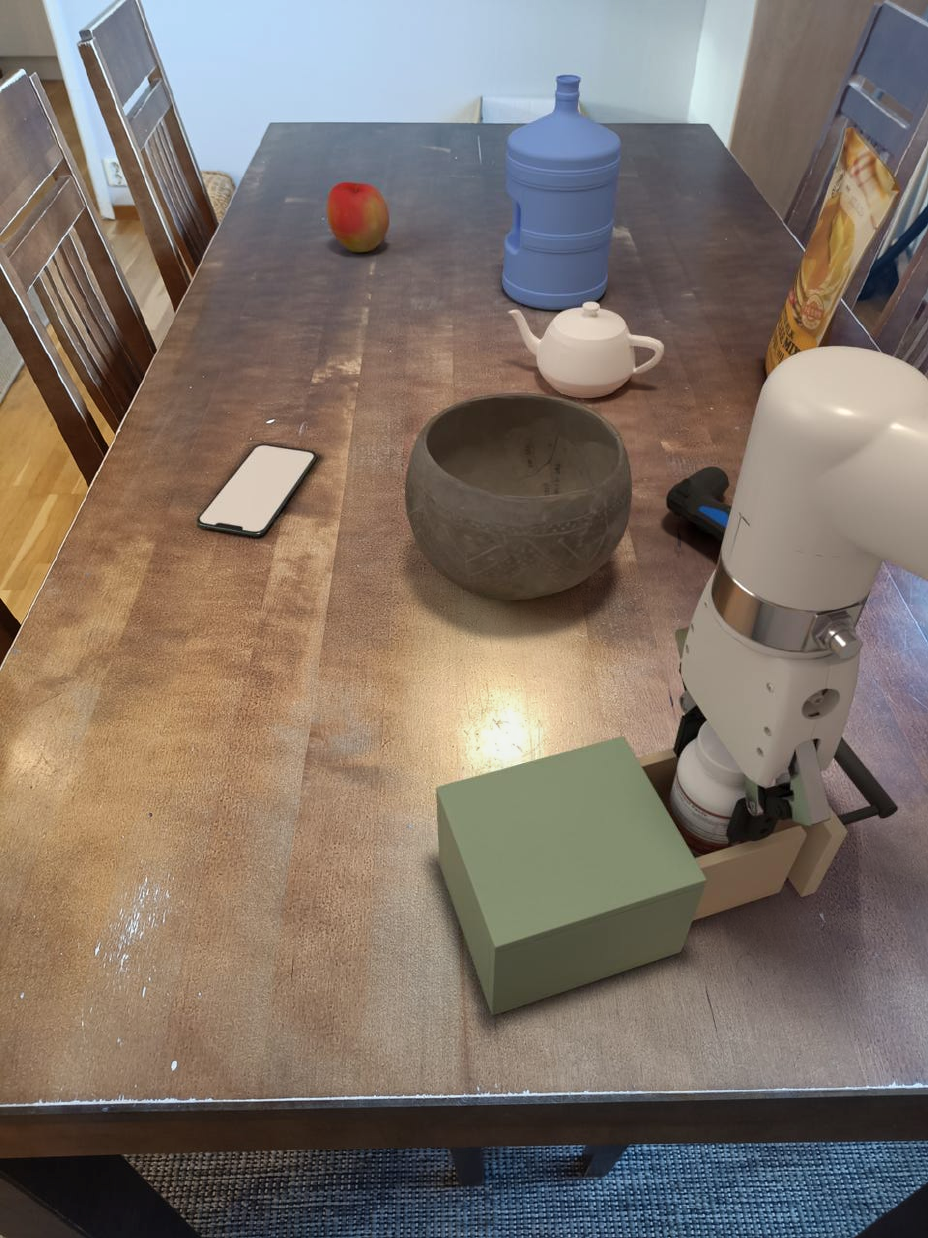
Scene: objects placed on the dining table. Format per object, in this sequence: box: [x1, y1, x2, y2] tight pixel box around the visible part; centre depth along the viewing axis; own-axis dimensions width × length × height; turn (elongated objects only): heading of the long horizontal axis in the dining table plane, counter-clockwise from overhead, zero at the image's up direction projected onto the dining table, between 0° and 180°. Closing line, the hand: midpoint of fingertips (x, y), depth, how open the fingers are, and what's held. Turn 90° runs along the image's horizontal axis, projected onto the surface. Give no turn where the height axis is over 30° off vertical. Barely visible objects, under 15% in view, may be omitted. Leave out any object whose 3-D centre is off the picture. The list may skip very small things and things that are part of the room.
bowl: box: [404, 391, 633, 601], centre depth 84 cm, size 21×21×15 cm
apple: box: [326, 181, 390, 253], centre depth 143 cm, size 10×10×10 cm
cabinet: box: [435, 735, 707, 1016], centre depth 60 cm, size 14×12×10 cm
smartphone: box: [196, 443, 318, 537], centre depth 98 cm, size 8×1×16 cm
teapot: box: [507, 301, 665, 399], centre depth 112 cm, size 20×12×10 cm, turn 70°
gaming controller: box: [665, 466, 732, 542], centre depth 90 cm, size 17×6×10 cm
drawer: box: [636, 736, 899, 921], centre depth 63 cm, size 19×10×8 cm, turn 108°
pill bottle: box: [666, 720, 776, 858], centre depth 59 cm, size 6×6×11 cm
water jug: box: [501, 74, 622, 311], centre depth 125 cm, size 16×16×28 cm
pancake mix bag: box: [765, 126, 902, 379], centre depth 105 cm, size 7×19×28 cm, turn 171°
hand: (721, 788), depth 59 cm, fingers closed on pill bottle, 6 cm apart
